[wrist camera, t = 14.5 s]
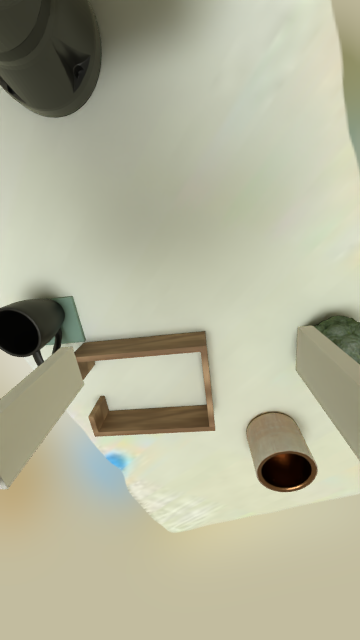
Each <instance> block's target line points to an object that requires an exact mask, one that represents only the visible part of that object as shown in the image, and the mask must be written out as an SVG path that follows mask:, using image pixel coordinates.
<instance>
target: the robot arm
mask: <svg viewBox="0 0 360 640" xmlns="http://www.w3.org/2000/svg"><path fill="white" fill-rule="evenodd" d="M100 65H101V40H100V33H99V29H98V25H97V21H96V18H95V15H94V12H93V10H92V8H91V5H90V3H89V1H88V0H0V85H1V86H2V88H3V89H4V90H5V91H6V92H7V93H8V94H9V95H10V96H12V97H13V98H14V99H15V100H17V101H18V102H19V103H21V104H22V105H24V106H25V107H26V108H28V109H29V110H31V111H33V112H35V113H37V114H40V115H43V116H47V117H61V116H66V115H68V114H71V113H73V112H74V111H76V110H77V109H79V108H80V107H81V106H82V105H83V104H84V103H85V102H86V101H87V100H88V98H89V97H90V95H91V93H92V92H93V90H94V87H95V85H96V82H97V79H98V76H99V71H100ZM296 371H297V373H298V374H299V375H300V377H301V378H302V380H303V381H304V383H305V384H306V385H307V387H308V388H309V390H310V391H311V392H312V394H313V395H314V397H315V398H316V400H317V401H318V402H319V404H320V405H321V407H322V408H323V410H324V411H325V412H326V414H327V415H328V417H329V418H330V419H331V421H332V422H333V424H334V425H335V427H336V428H337V429H338V431H339V432H340V434H341V435H342V436H343V438H344V439H345V441H346V442H347V444H348V445H349V446H350V448H351V449H352V451H353V452H354V453H355V455H356V456H357V458H358V459H359V461H360V364H358V363H357V362H356V361H355V360H354V359H352V358H351V357H350V356H349V355H348V354H346V353H345V352H344V351H343V350H341V349H340V348H339V347H338V346H337V345H335V344H334V343H333V342H332V341H331V340H329V339H328V338H327V337H326V336H324V335H323V334H322V333H321V332H320V331H318V330H317V329H316V328H315V327H314V326H301V327H298V331H297V352H296ZM83 386H84V382H83V379H82V376H81V373H80V369H79V366H78V363H77V360H76V357H75V354H74V350H73V347H62V348H59V349H58V350H57V351H56V352H55V353H54V354H52V355H51V356H50V357H49V358H48V359H47V360H45V361H44V362H43V363H42V364H41V365H40V366H38V367H37V368H36V369H35V370H34V371H33V372H31V373H30V374H29V375H28V376H27V377H26V378H24V379H23V380H22V381H21V382H20V383H19V384H17V386H15V387H14V388H13V389H12V390H11V391H9V392H8V393H7V394H6V395H5V396H3V397H2V398H1V399H0V489H8V488H9V487H10V485H11V484H12V482H13V481H14V480H15V478H16V477H17V476H18V474H19V473H20V472H21V470H22V469H23V468H24V466H25V465H26V463H27V462H28V461H29V459H30V458H31V457H32V455H33V454H34V452H35V451H36V450H37V448H38V447H39V446H40V444H41V443H42V442H43V440H44V439H45V438H46V436H47V435H48V433H49V432H50V431H51V429H52V428H53V427H54V425H55V424H56V422H57V421H58V420H59V418H60V417H61V416H62V414H63V413H64V412H65V410H66V409H67V408H68V406H69V405H70V403H71V402H72V401H73V399H74V398H75V397H76V395H77V394H78V393H79V391H80V390H81V388H82V387H83Z"/></svg>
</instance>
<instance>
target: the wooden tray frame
mask: <svg viewBox="0 0 360 640" xmlns="http://www.w3.org/2000/svg"><path fill="white" fill-rule="evenodd" d="M192 352H201V358H202V366H203V375H204V384H205V392H206V401H207V405H198V406H182V407H166V408H149V409H133V410H117V411H109V409H108V406H107V403H106V399H105V396H100V398H99V399H98V401H97V403H96V405H95V406H94V408H93V410H92V411H91V413H90V415H89V420H90V423H91V426H92V429H93V432H94V435H95V437H96V436H116V435H136V434H157V433H177V432H197V431H215V422H214V411H213V401H212V392H211V382H210V373H209V363H208V354H207V344H206V335H205V331H202V332H192V333H181V334H171V335H160V336H150V337H139V338H129V339H118V340H108V341H97V342H87V343H83V344H82V345H81V346H80V347H79V348H78V349H77V350H76V351H75V352H74V354H75V357H76V360H77V363H78V366H79V369H80V373H81V376H82V379H83V380H84V378H85V377H86V376H87V374H88V373H89V372H90V370H91V369H92V368H93V366H94V365H95V362H94V361H99V360H111V359H122V358H134V357H145V356H157V355H169V354H180V353H192Z"/></svg>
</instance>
